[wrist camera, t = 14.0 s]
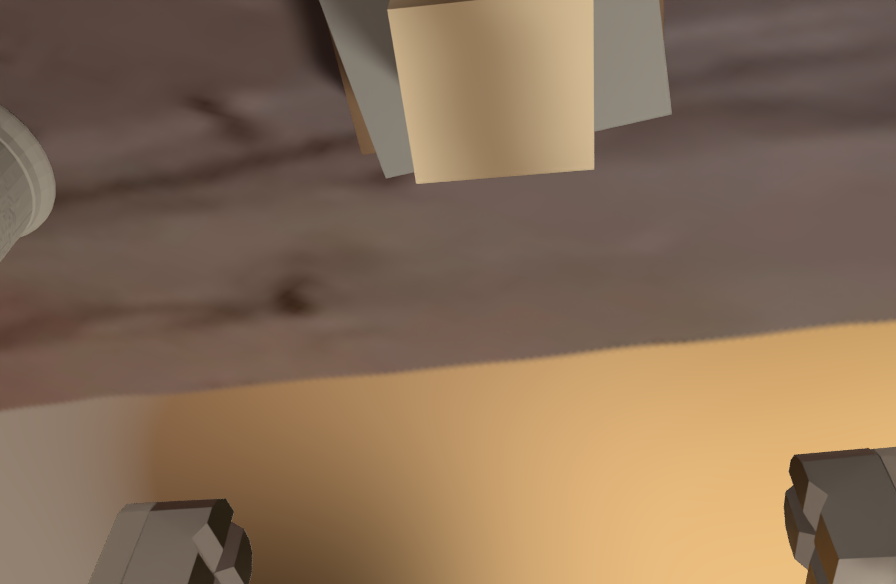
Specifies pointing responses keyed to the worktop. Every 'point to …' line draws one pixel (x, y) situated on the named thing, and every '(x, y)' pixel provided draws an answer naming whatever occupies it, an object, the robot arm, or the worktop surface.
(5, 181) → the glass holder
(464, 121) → the birch block
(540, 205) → the worktop surface
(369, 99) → the slate top slab
